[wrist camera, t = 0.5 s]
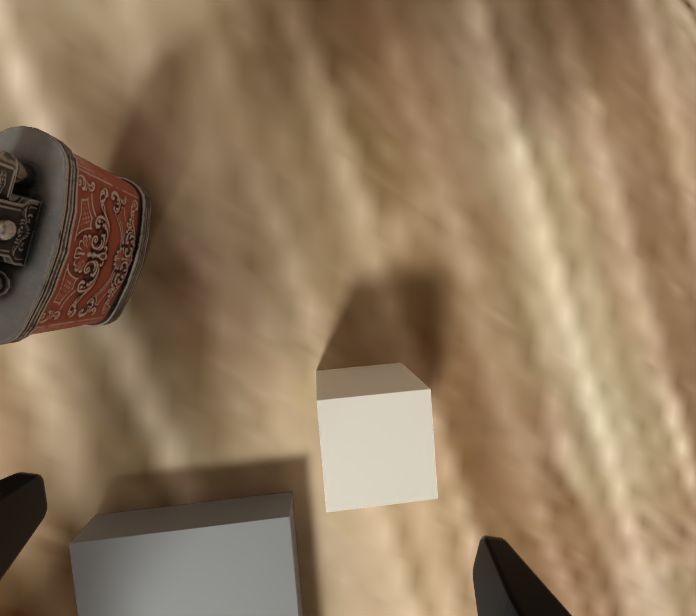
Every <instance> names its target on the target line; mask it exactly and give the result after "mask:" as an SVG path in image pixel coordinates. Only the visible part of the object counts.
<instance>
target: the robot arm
mask: <svg viewBox="0 0 696 616" xmlns="http://www.w3.org/2000/svg"><path fill="white" fill-rule="evenodd" d="M46 511H47V500H46V493H45V486H44V480H43V478H42V476H41V475H39V474H33V473H25V472H20V473H16V474H13V475H11V476H8V477H6V478H4V479H1V480H0V580H1V579H2V577H3V576H4V574H5V573H6V571H7V570H8V569H9V567H10V566H11V564H12V563H13V562H14V560H15V559H16V557H17V556H18V554H19V553H20V552H21V550H22V549H23V547H24V546H25V544H26V543H27V542H28V540H29V539H30V537H31V536H32V534H33V533H34V532H35V530H36V529H37V527H38V526H39V524H40V523H41V522H42V520H43V518H44V516H45V514H46ZM473 583H474V590H475V597H476V605H477V612H478V616H572V615H571V614H570V613H569V612H568V611H567V610H566V608H565V607H564V606H563V605H562V604H561V603H560V602H559V600H558V599H557V598H556V597H555V596H554V595H553V594H552V592H551V591H550V590H549V589H548V588H547V587H546V586H545V585H544V583H543V582H542V581H541V580H540V579H539V578H538V577H537V575H536V574H535V573H534V572H533V571H532V570H531V569H530V567H529V566H528V565H527V564H526V563H525V562H524V561H523V559H522V558H521V557H520V556H519V555H518V554H517V553H516V552H515V550H514V549H513V548H512V547H511V546H510V545H509V544H508V542H507V541H506V540H504V539H503V538H500V537H492V536H483V537H482V538H481V539H480V542H479V546H478V550H477V554H476V558H475V562H474V566H473Z"/></svg>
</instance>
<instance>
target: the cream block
mask: <svg viewBox="0 0 696 616" xmlns="http://www.w3.org/2000/svg"><path fill="white" fill-rule="evenodd" d="M316 383H317V409H318V420H319V432H320V444H321V456H322V468H323V479H324V491H325V503H326V512H334V511H342V510H350V509H358V508H366V507H374V506H382V505H390V504H398V503H407V502H415V501H423V500H431V499H438V494H437V479H436V464H435V449H434V433H433V418H432V403H431V389H430V388H429V387H428V386H427V385H426V384H425V383H423V382H422V381H421V380H420V379H419V378H418V377H417V376H416V375H415V374H413V373H412V372H411V371H410V370H409V369H408V368H407V367H406V366H405V365H403V364H402V363H391V364H381V365H370V366H360V367H349V368H339V369H328V370H318V371H316Z"/></svg>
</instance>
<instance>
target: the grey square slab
mask: <svg viewBox="0 0 696 616" xmlns="http://www.w3.org/2000/svg"><path fill="white" fill-rule="evenodd" d="M69 551H70V558H71V566H72V574H73V582H74V590H75V598H76V605H77V613H78V616H303V607H302V595H301V584H300V573H299V562H298V551H297V540H296V529H295V517H294V506H293V495H292V492H285V493H276V494H268V495H259V496H251V497H243V498H234V499H226V500H217V501H209V502H200V503H192V504H183V505H175V506H167V507H158V508H150V509H141V510H133V511H124V512H116V513H107V514H99V515H96V516H95V517H94V518H93V519H92V520H91V521H90V522H89V523H88V524H87V525H86V526H85V527H84V528H83V529H82V530H81V531H80V532H79V533H78V534H77V536H76V537H75V538H74V539H73V540H72V541H71V542H70V543H69Z"/></svg>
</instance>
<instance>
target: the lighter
mask: <svg viewBox="0 0 696 616" xmlns="http://www.w3.org/2000/svg"><path fill="white" fill-rule="evenodd" d="M150 216H151V200H150V197H149V195H148V194H147V192H146V191H145V190H144V189H143V188H142V187H141V186H140V185H138V184H136V183H134V182H132V181H130V180H128V179H126V178H123V177H117V176H114V175H113V174H111V173H109V172H107V171H105V170H103V169H102V168H100V167H98V166H96V165H94V164H92V163H91V162H89V161H87V160H85V159H83V158H81V157H80V156H78V155H76V154H74V153H73V152H72V150H71V149H70V148H68V147H67V146H66V145H65V144H64V143H63V142H62V141H60V140H58V139H56V138H55V137H53V136H51V135H49V134H47V133H45V132H43V131H41V130H39V129H37V128H32V127H26V126H18V127H11V128H8V129H6V130H4V131H2V132H0V345H3V344H8V343H13V342H18V341H21V340H22V339H24V338H26V337H28V336H29V335H31V334H37V333H42V332H48V331H54V330H59V329H65V328H71V327H76V326H88V327H95V326H101V325H106V324H110V323H112V322H114V321H116V320H117V318H118V317H119V316H120V315H121V313H122V311H123V309H124V307H125V305H126V303H127V301H128V299H129V297H130V295H131V293H132V292H133V289H134V287H135V284H136V281H137V278H138V276H139V273H140V270H141V267H142V265H143V261H144V257H145V252H146V247H147V242H148V237H149V229H150Z"/></svg>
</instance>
